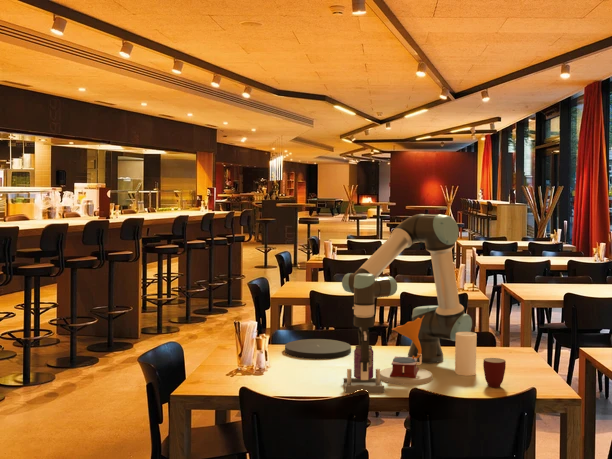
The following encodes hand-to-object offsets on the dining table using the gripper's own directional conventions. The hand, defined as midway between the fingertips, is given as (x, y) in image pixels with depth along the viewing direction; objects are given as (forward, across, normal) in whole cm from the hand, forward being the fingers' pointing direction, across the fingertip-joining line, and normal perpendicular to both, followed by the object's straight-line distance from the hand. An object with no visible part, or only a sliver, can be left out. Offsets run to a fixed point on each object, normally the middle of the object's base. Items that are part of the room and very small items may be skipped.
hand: (363, 376), depth 283 cm
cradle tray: (+4, 0, 0) cm, 4 cm away
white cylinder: (+5, -22, +43) cm, 49 cm away
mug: (+5, -4, +49) cm, 49 cm away
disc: (+5, -62, -15) cm, 64 cm away
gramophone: (+5, -16, +18) cm, 24 cm away
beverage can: (+1, 0, 0) cm, 1 cm away
